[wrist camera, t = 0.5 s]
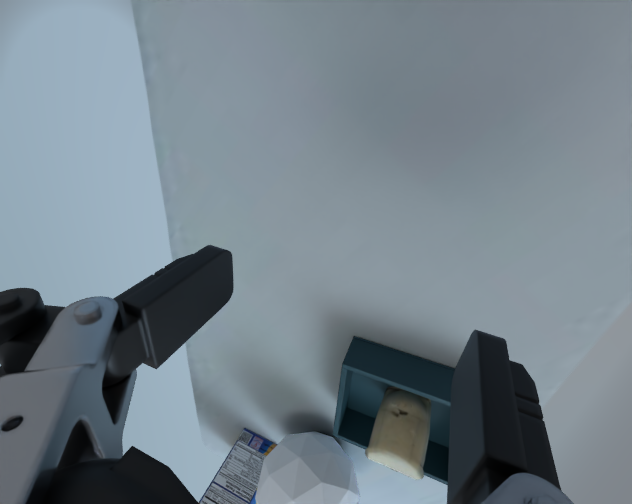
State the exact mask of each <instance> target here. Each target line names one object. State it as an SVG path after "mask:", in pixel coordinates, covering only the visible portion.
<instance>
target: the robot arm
mask: <svg viewBox="0 0 632 504" xmlns="http://www.w3.org/2000/svg"><path fill="white" fill-rule="evenodd" d="M232 293H233V263H232V254H231V252H230V251H228V250H225V249H222V248H218V247H215V246H212V245H208V246H206V247H204V248H203V249H201V250H199V251H198V252H196V253H195V254H191V255H188V256H185V257H182V258H179V259H176V260H175V261H173V262H172V263H170V264H168V265H167V266H165V268H164V269H163V268H162V269H160V270H159V271H157V272H156V273H155V274H154V275H151V276H149V277H148V278H146V279H144V280H143V281H141V282H140V283H138V284H136V285H135V286H133V287H131V288H130V289H128V290H127V291H125V292H123V293H122V294H120V295H119V296H117V297H115V298H114V299H112V298H109V297H101V296H100V297H90V298H85V299H82V300H79V301H77V302H74V303H72V304H70V305H69V306H67V307H58V306H48V305H44V303H43V301H42V298H41V296H40V294H39V292H38V291H36V290H34V289H30V288H16V289H10V290H6V291H3V292H0V364H1V367H0V504H199V503H198V502H197V501H196V500H195V498H194V497H193V496H192V495H191V494H190V492H189V491H188V490H187V489H186V487H185V486H184V485H183V484H182V482H181V481H180V480H179V479H178V478H177V476H176V475H175V474H174V473H173V471H172V470H171V469H170V468H169V467H168V466H166V465H164V464H163V463H161V462H159V461H158V460H156V459H154V458H152V457H151V456H149V455H147V454H145V453H144V452H142V451H140V450H138V449H137V448H135V447H133V446H132V447H131V448H130V449H129V450H128V451H127V452H126V453H125V454H124V455H123V448H122V436H123V429H124V425H125V421H126V417H127V413H128V409H129V405H130V401H131V397H132V393H133V389H134V385H135V381H136V376H137V371H136V368H137V367H138V366H139V365H141V364H142V363H144V364H146V365H148V366H151V367H153V368H155V369H157V368H158V367H159V366H160V365H161V364H163V363H164V362H165V361H166V360H167V359H168V358H169V357H170V356H171V355H172V354H173V353H174V352H175V351H176V350H177V349H178V348H180V347H181V346H182V345H183V344H184V343H185V342H186V341H187V340H188V339H189V338H190V337H191V336H192V335H193V334H195V333H196V332H197V331H198V330H199V329H200V328H201V327H202V326H203V325H204V324H205V323H206V322H207V321H208V320H209V319H210V318H212V317H213V316H214V315H215V314H216V313H217V312H218V311H219V310H220V309H221V308H222V307H223V306H224V305H225V304H226V303H227V302H228V301H229V299H230V298H231V295H232ZM542 419H543V414H542V410H541V406H540V405H539V398H538V394H537V390H536V386H535V383H534V381H533V380H532V378H531V377H530V375H529V374H528V372H527V371H526V369H525V368H524V366H523V365H522V364H519V363H516V362H513V361H510V360H509V356H508V350H507V344H506V341H505V339H503V338H500V337H497V336H494V335H491V334H487V333H484V332H481V331H478V330H474V331H473V332H472V334H471V336H470V338H469V340H468V342H467V345H466V347H465V349H464V351H463V353H462V355H461V357H460V359H459V362H458V364H457V366H456V368H455V371H454V375H453V379H452V385H451V407H450V435H449V464H448V492H447V504H574V503H573V502H572V501H571V500H570V499H569V498H568V497H567V496H566V495H565V494H564V493H563V492H562V491H561V488H560V485H559V481H558V477H557V472H556V468H555V464H554V460H553V456H552V452H551V448H550V443H549V440H548V435H547V431H546V427H545V423H544V421H543V420H542Z"/></svg>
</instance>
